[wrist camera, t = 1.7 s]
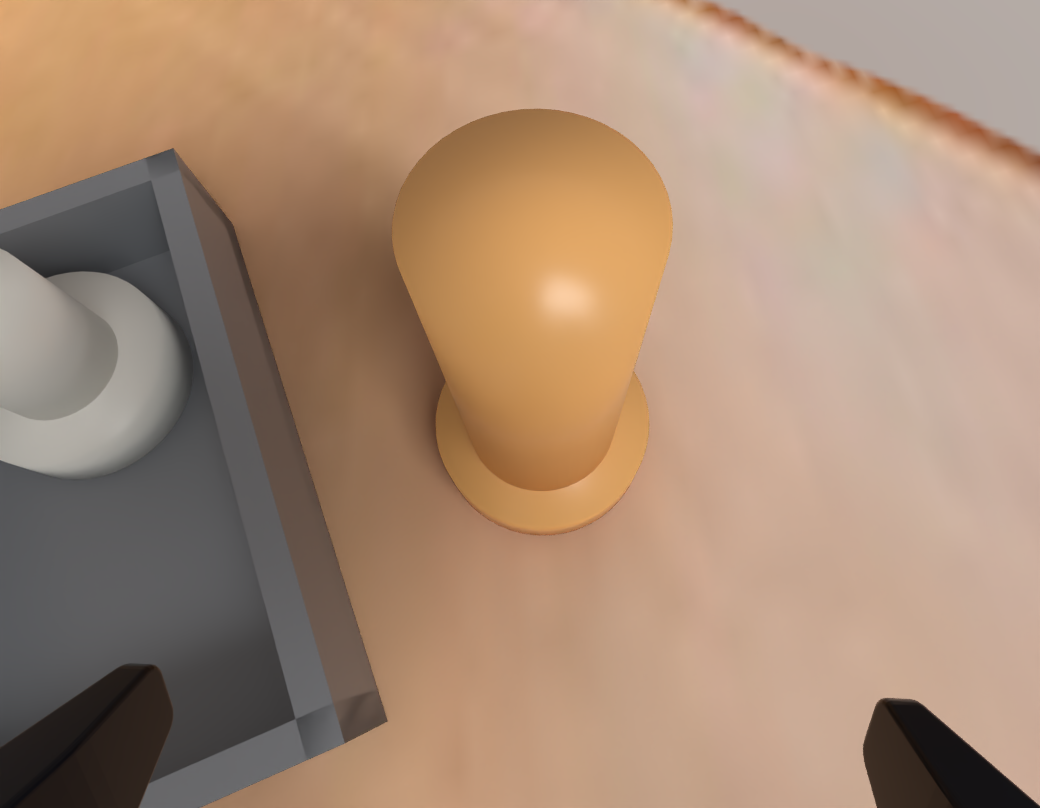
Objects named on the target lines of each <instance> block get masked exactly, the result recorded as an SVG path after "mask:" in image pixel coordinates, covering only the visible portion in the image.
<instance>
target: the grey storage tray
mask: <svg viewBox="0 0 1040 808" xmlns="http://www.w3.org/2000/svg"><path fill="white" fill-rule="evenodd" d="M128 663H136V664H153V665H156V666H157V667H158V668H159V669H160V670H161V672H162V675H163V678H164V681H165V684H166V687H167V690H168V693H169V696H170V699H171V702H172V705H173V722H172V726H171V729H170V732H169V734H168V737H167V739H166V742H165V744H164V747H163V749H162V752H161V754H160V757H159V759H158V762H157V764H156V767H155V769H154V772H153V774H152V777H151V779H150V782H149V784H148V787H147V789H146V792H145V794H144V797H143V799H142V802H141V804H140V807H139V808H200V807H203V806H205V805H207V804H209V803H212V802H214V801H216V800H218V799H221V798H223V797H225V796H227V795H230V794H232V793H234V792H236V791H239V790H241V789H243V788H245V787H248V786H250V785H252V784H254V783H257V782H259V781H261V780H263V779H266V778H268V777H270V776H272V775H275V774H277V773H279V772H281V771H284V770H286V769H288V768H290V767H293V766H295V765H297V764H299V763H302V762H304V761H306V760H308V759H311V758H313V757H315V756H317V755H320V754H322V753H324V752H326V751H329V750H331V749H333V748H335V747H338V746H340V745H342V744H344V743H346V742H348V741H350V740H352V739H354V738H356V737H358V736H360V735H362V734H364V733H366V732H368V731H370V730H372V729H373V728H375V727H377V726H379V725H381V724H383V723H385V722H387V718H386V715H385V712H384V708H383V705H382V702H381V699H380V696H379V692H378V689H377V686H376V683H375V680H374V676H373V673H372V670H371V667H370V664H369V660H368V657H367V654H366V651H365V648H364V644H363V641H362V638H361V635H360V632H359V628H358V625H357V622H356V619H355V615H354V612H353V609H352V606H351V603H350V599H349V596H348V593H347V590H346V587H345V583H344V580H343V577H342V574H341V571H340V567H339V564H338V561H337V558H336V555H335V551H334V548H333V545H332V542H331V539H330V535H329V532H328V529H327V526H326V522H325V519H324V516H323V513H322V510H321V506H320V503H319V500H318V497H317V494H316V490H315V487H314V484H313V481H312V478H311V474H310V471H309V468H308V465H307V462H306V458H305V455H304V452H303V449H302V445H301V442H300V439H299V436H298V433H297V429H296V426H295V423H294V420H293V417H292V413H291V410H290V407H289V404H288V401H287V397H286V394H285V391H284V388H283V385H282V381H281V378H280V375H279V372H278V369H277V365H276V362H275V359H274V356H273V352H272V349H271V346H270V343H269V340H268V336H267V333H266V330H265V327H264V324H263V320H262V317H261V314H260V311H259V308H258V304H257V301H256V298H255V295H254V292H253V288H252V285H251V282H250V279H249V275H248V272H247V269H246V266H245V263H244V259H243V256H242V253H241V250H240V247H239V243H238V240H237V237H236V234H235V231H234V227H233V224H232V223H231V222H230V220H229V219H228V218H227V217H226V215H225V214H224V213H223V211H222V210H221V209H220V208H219V206H218V205H217V204H216V203H215V201H214V200H213V199H212V197H211V196H210V195H209V194H208V192H207V191H206V190H205V188H204V187H203V186H202V185H201V183H200V182H199V181H198V179H197V178H196V177H195V176H194V174H193V173H192V172H191V170H190V169H189V168H188V167H187V165H186V164H185V163H184V161H183V160H182V159H181V158H180V156H179V155H178V154H177V152H176V151H175V150H174V149H170V150H167V151H164V152H161V153H158V154H156V155H153V156H150V157H147V158H144V159H142V160H139V161H136V162H133V163H130V164H127V165H125V166H122V167H119V168H116V169H113V170H111V171H108V172H105V173H102V174H99V175H96V176H94V177H91V178H88V179H85V180H82V181H79V182H77V183H74V184H71V185H68V186H65V187H63V188H60V189H57V190H54V191H51V192H48V193H46V194H43V195H40V196H37V197H34V198H32V199H29V200H26V201H23V202H20V203H17V204H15V205H12V206H9V207H6V208H3V209H1V210H0V747H1V746H3V745H4V744H6V743H7V742H9V741H10V740H12V739H13V738H15V737H16V736H18V735H19V734H20V733H22V732H23V731H25V730H26V729H28V728H29V727H31V726H32V725H34V724H35V723H37V722H38V721H40V720H41V719H42V718H44V717H45V716H47V715H48V714H50V713H51V712H53V711H54V710H56V709H57V708H59V707H60V706H62V705H63V704H64V703H66V702H67V701H69V700H70V699H72V698H73V697H75V696H76V695H78V694H79V693H81V692H82V691H84V690H85V689H86V688H88V687H89V686H91V685H92V684H94V683H95V682H97V681H98V680H100V679H101V678H103V677H104V676H106V675H107V674H108V673H110V672H111V671H113V670H114V669H116V668H118V667H119V666H121V665H124V664H128Z"/></svg>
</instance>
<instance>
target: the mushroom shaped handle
mask: <svg viewBox="0 0 1040 808" xmlns="http://www.w3.org/2000/svg"><path fill="white" fill-rule="evenodd" d="M672 229H673V220H672V210H671V205H670V201H669V197H668V193H667V191H666V188H665V186H664V184H663V181H662V179H661V177H660V175H659V174H658V172H657V170H656V169H655V167H654V166H653V164H652V163H651V162H650V160H649V159H648V158H647V157H646V156H645V154H644V153H643V152H642V151H641V150H640V149H639V148H638V147H637V146H636V145H635V144H633V143H632V142H631V141H630V140H629V139H627V138H626V137H624V136H623V135H622V134H620V133H619V132H617V131H616V130H614V129H612V128H610V127H608V126H607V125H605V124H603V123H600V122H598V121H596V120H593V119H591V118H588V117H585V116H581V115H578V114H574V113H570V112H564V111H559V110H549V109H521V110H514V111H507V112H502V113H498V114H494V115H490V116H486V117H484V118H481V119H478V120H476V121H473V122H471V123H469V124H467V125H465V126H463V127H461V128H459V129H457V130H455V131H453V132H452V133H450V134H449V135H447V136H446V137H444V138H443V139H441V140H440V141H439V142H438V143H437V144H435V145H434V146H433V147H432V148H431V149H429V150H428V151H427V153H426V154H425V155H424V156H423V157H422V158H421V159H420V160H419V161H418V162H417V164H416V165H415V167H414V168H413V169H412V171H411V172H410V173H409V175H408V177H407V179H406V181H405V182H404V184H403V186H402V188H401V191H400V193H399V196H398V199H397V201H396V205H395V210H394V214H393V222H392V242H393V250H394V254H395V258H396V263H397V266H398V268H399V270H400V273H401V275H402V278H403V280H404V282H405V285H406V287H407V290H408V292H409V294H410V297H411V299H412V301H413V304H414V306H415V309H416V311H417V313H418V316H419V318H420V320H421V323H422V325H423V328H424V330H425V332H426V335H427V337H428V339H429V342H430V344H431V347H432V349H433V351H434V354H435V356H436V358H437V361H438V363H439V366H440V368H441V370H442V373H443V375H444V377H445V380H446V382H445V384H444V386H443V389H442V391H441V395H440V398H439V401H438V406H437V412H436V438H437V444H438V448H439V452H440V456H441V458H442V461H443V463H444V466H445V468H446V470H447V471H448V473H449V475H450V477H451V478H452V480H453V482H454V483H455V485H456V486H457V488H458V489H459V491H460V492H461V494H462V495H463V496H464V498H465V499H466V500H467V501H468V503H469V504H470V505H471V506H472V507H473V508H474V509H475V510H476V511H478V512H479V513H480V514H482V515H483V516H484V517H486V518H487V519H488V520H490V521H492V522H494V523H496V524H497V525H499V526H502V527H504V528H507V529H509V530H512V531H516V532H519V533H523V534H531V535H555V534H562V533H567V532H570V531H574V530H577V529H580V528H582V527H584V526H586V525H589V524H591V523H592V522H594V521H596V520H597V519H599V518H601V517H602V516H603V515H604V514H606V513H607V512H608V511H609V510H611V509H612V508H613V507H614V506H615V504H616V503H617V502H618V501H619V500H620V499H621V498H622V496H623V495H624V493H625V492H626V491H627V489H628V488H629V486H630V484H631V482H632V480H633V478H634V476H635V474H636V472H637V470H638V468H639V466H640V464H641V462H642V459H643V456H644V453H645V451H646V446H647V441H648V435H649V413H648V407H647V402H646V397H645V394H644V392H643V389H642V386H641V384H640V382H639V380H638V378H637V376H636V374H635V372H634V367H635V364H636V361H637V358H638V354H639V351H640V348H641V344H642V341H643V338H644V334H645V331H646V328H647V325H648V321H649V318H650V315H651V311H652V308H653V305H654V302H655V298H656V295H657V292H658V288H659V285H660V282H661V278H662V275H663V272H664V269H665V265H666V262H667V259H668V255H669V251H670V246H671V241H672Z"/></svg>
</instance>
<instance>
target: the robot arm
mask: <svg viewBox="0 0 1040 808" xmlns="http://www.w3.org/2000/svg"><path fill="white" fill-rule="evenodd" d="M172 722H173V705H172V702H171V699H170V696H169V693H168V690H167V687H166V684H165V681H164V678H163V675H162V672H161V670H160V669H159V668H158V667H157V666H156V665H153V664H136V663H128V664H124V665H121V666H119V667H118V668H116V669H114V670H113V671H111V672H110V673H108V674H107V675H106V676H104V677H103V678H101V679H100V680H98V681H97V682H95V683H94V684H92V685H91V686H89V687H88V688H86V689H85V690H84V691H82V692H81V693H79V694H78V695H76V696H75V697H73V698H72V699H70V700H69V701H67V702H66V703H64V704H63V705H62V706H60V707H59V708H57V709H56V710H54V711H53V712H51V713H50V714H48V715H47V716H45V717H44V718H42V719H41V720H40V721H38V722H37V723H35V724H34V725H32V726H31V727H29V728H28V729H26V730H25V731H23V732H22V733H20V734H19V735H18V736H16V737H15V738H13V739H12V740H10V741H9V742H7V743H6V744H4V745H3V746H1V747H0V808H139V807H140V804H141V802H142V799H143V797H144V794H145V792H146V789H147V787H148V784H149V782H150V779H151V777H152V774H153V772H154V769H155V767H156V764H157V762H158V759H159V757H160V754H161V752H162V749H163V747H164V744H165V742H166V739H167V737H168V734H169V732H170V729H171V726H172ZM863 756H864V762H865V767H866V770H867V774H868V777H869V781H870V784H871V788H872V791H873V795H874V798H875V802H876V806H877V808H1040V806H1039V805H1038V804H1037V803H1036V802H1035V801H1034V800H1032V799H1031V798H1030V797H1029V796H1028V795H1027V794H1025V793H1024V792H1023V791H1022V790H1021V789H1020V788H1019V787H1017V786H1016V785H1015V784H1014V783H1013V782H1012V781H1010V780H1009V779H1008V778H1007V777H1006V776H1005V775H1003V774H1002V773H1001V772H1000V771H999V770H998V769H997V768H995V767H994V766H993V765H992V764H991V763H990V762H988V761H987V760H986V759H985V758H984V757H983V756H982V755H980V754H979V753H978V752H977V751H976V750H975V749H973V748H972V747H971V746H970V745H969V744H968V743H966V742H965V741H964V740H963V739H962V738H961V737H960V736H958V735H957V734H956V733H955V732H954V731H953V730H951V729H950V728H949V727H948V726H947V725H946V724H945V723H943V722H942V721H941V720H940V719H939V718H938V717H936V716H935V715H934V714H933V713H932V712H931V711H929V710H928V709H927V708H926V707H925V706H924V705H922V704H921V703H919V702H917V701H915V700H912V699H897V698H883V699H881V700H879V701H878V702H877V704H876V706H875V709H874V712H873V715H872V718H871V721H870V724H869V727H868V730H867V734H866V737H865V740H864V744H863Z"/></svg>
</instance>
